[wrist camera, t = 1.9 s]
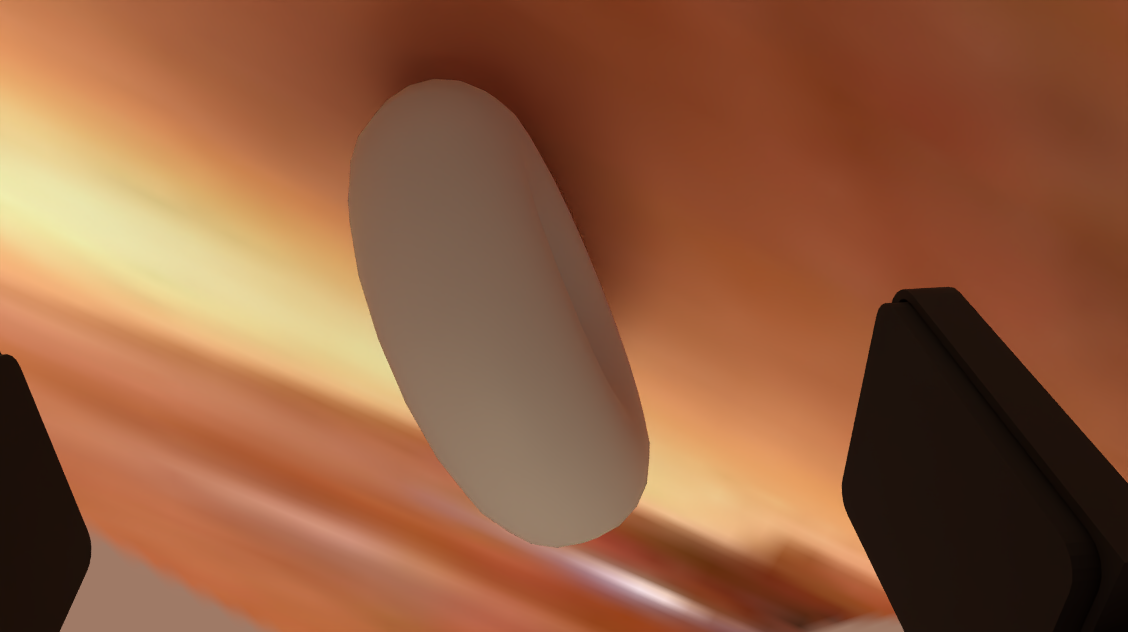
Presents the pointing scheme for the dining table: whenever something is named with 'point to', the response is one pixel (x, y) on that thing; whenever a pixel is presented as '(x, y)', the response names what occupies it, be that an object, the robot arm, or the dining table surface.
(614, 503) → the donut
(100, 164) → the dining table surface
